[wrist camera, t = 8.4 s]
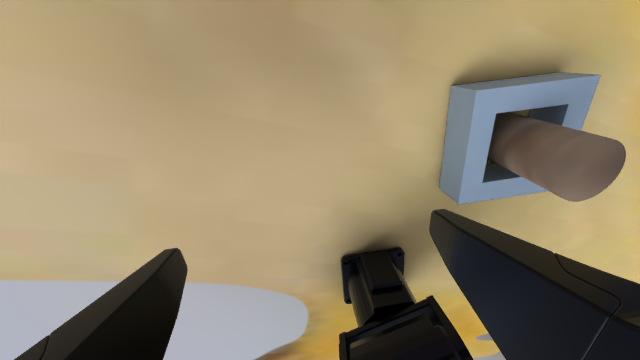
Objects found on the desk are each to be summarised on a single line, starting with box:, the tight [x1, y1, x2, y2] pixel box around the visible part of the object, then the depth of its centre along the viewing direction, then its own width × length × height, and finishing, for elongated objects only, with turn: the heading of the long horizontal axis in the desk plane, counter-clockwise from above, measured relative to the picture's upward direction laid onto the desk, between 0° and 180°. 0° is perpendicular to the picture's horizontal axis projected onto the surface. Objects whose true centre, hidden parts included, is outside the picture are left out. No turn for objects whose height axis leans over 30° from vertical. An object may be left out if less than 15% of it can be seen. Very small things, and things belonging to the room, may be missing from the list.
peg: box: [487, 112, 626, 202], centre depth 19 cm, size 4×4×8 cm
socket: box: [439, 72, 601, 205], centre depth 21 cm, size 9×9×3 cm
